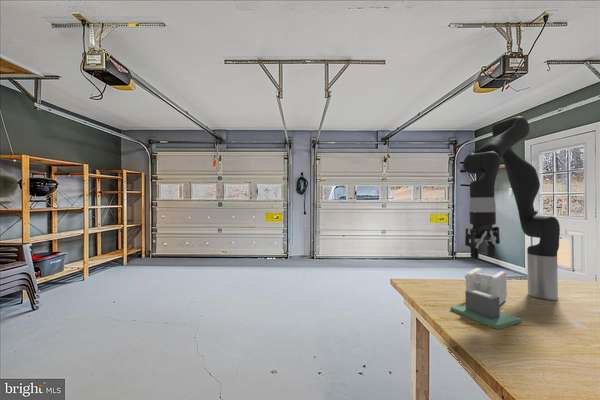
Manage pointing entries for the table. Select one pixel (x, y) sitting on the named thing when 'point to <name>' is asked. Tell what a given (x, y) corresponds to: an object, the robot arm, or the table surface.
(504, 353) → the table surface
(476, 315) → the board
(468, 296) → the block
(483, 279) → the white socket shroud
